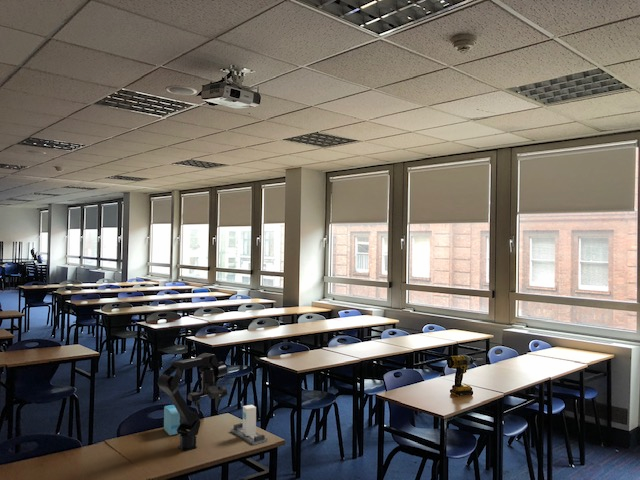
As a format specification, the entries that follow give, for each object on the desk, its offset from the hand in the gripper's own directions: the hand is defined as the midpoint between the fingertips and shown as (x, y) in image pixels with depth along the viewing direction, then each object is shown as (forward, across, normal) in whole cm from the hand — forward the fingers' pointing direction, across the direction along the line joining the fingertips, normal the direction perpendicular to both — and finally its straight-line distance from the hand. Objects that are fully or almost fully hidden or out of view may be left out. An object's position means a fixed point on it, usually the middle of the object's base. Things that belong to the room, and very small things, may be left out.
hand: (207, 411), depth 239 cm
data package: (+13, -10, +20) cm, 26 cm away
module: (+12, +18, -9) cm, 23 cm away
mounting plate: (+13, +17, -9) cm, 24 cm away
